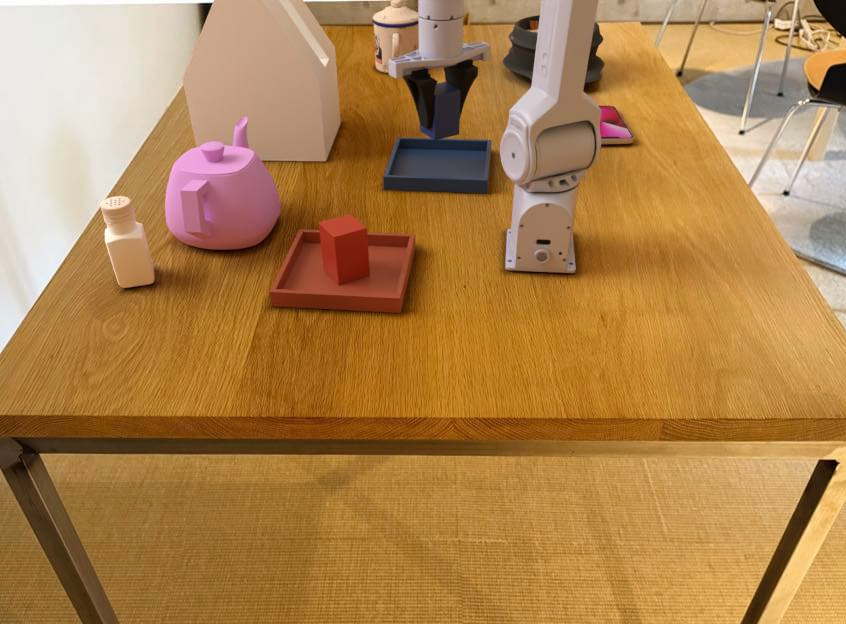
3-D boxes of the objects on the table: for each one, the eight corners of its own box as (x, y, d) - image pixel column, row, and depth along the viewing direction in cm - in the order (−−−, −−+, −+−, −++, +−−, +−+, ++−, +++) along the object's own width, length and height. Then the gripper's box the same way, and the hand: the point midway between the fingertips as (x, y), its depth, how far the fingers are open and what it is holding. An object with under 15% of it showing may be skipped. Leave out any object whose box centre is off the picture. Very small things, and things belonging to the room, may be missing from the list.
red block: (370, 275, 86) (367, 227, 82) (338, 285, 85) (334, 237, 81) (354, 260, 89) (350, 213, 85) (323, 269, 87) (318, 222, 83)
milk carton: (340, 123, 123) (327, -54, 107) (326, 161, 112) (308, -31, 96) (225, 121, 125) (194, -54, 108) (198, 159, 113) (159, -31, 97)
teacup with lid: (375, 60, 149) (373, -6, 141) (422, 60, 148) (421, -6, 141) (371, 80, 139) (368, 11, 132) (421, 80, 139) (420, 10, 132)
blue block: (459, 134, 105) (460, 89, 101) (434, 140, 103) (435, 95, 99) (444, 125, 107) (444, 81, 103) (419, 131, 106) (419, 86, 102)
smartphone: (614, 105, 125) (635, 138, 114) (613, 111, 126) (634, 145, 114) (570, 106, 125) (586, 139, 114) (569, 112, 126) (585, 146, 114)
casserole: (488, 56, 150) (491, 9, 144) (579, 51, 151) (585, 4, 146) (519, 99, 131) (523, 47, 125) (623, 92, 132) (631, 40, 127)
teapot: (302, 197, 103) (293, 115, 95) (253, 272, 88) (238, 181, 81) (210, 191, 105) (193, 109, 97) (146, 263, 90) (121, 174, 82)
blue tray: (487, 193, 103) (487, 180, 102) (383, 189, 104) (383, 176, 103) (491, 152, 113) (491, 139, 112) (397, 149, 115) (396, 136, 114)
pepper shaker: (119, 291, 85) (95, 213, 79) (119, 273, 88) (96, 197, 82) (156, 285, 86) (134, 207, 80) (154, 268, 89) (134, 191, 83)
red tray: (400, 313, 81) (400, 298, 80) (271, 306, 82) (269, 291, 81) (415, 248, 92) (415, 233, 90) (301, 243, 93) (299, 229, 92)
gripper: (471, 0, 101) (467, 104, 110) (375, 16, 95) (379, 124, 104) (502, 11, 96) (495, 119, 105) (403, 29, 91) (405, 140, 100)
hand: (439, 122), depth 104 cm, fingers closed on blue block, 4 cm apart
